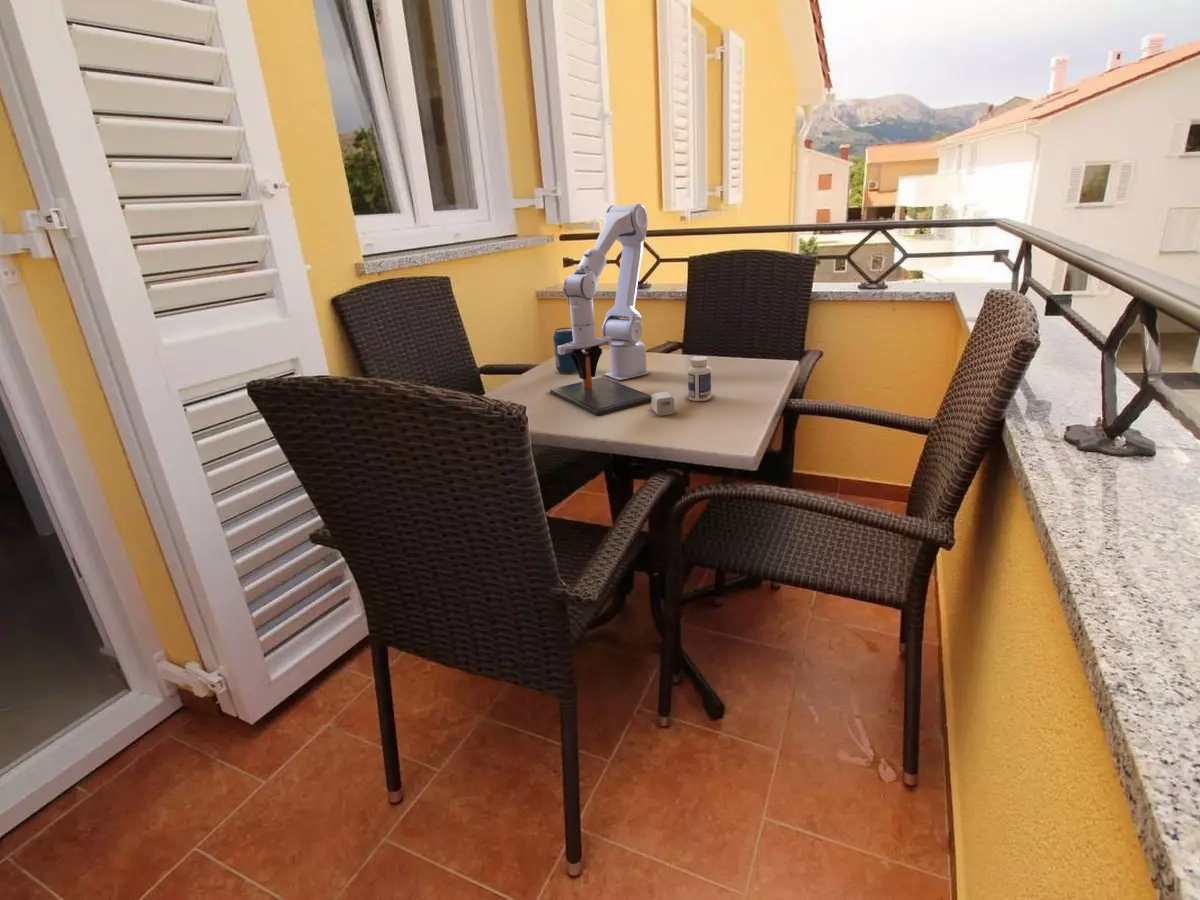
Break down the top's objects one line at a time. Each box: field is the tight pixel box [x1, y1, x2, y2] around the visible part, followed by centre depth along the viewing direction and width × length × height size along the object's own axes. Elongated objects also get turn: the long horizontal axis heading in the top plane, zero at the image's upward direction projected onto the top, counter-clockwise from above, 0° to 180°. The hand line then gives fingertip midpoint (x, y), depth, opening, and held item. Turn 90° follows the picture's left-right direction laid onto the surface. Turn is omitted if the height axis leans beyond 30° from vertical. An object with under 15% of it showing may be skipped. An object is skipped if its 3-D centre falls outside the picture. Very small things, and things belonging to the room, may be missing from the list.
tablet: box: [549, 376, 652, 416], centre depth 156 cm, size 16×24×1 cm, turn 31°
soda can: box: [552, 327, 578, 374], centre depth 179 cm, size 7×7×12 cm
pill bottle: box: [687, 355, 712, 402], centre depth 147 cm, size 5×5×10 cm
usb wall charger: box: [651, 391, 675, 417], centre depth 142 cm, size 4×7×4 cm, turn 11°
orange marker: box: [582, 351, 593, 389], centre depth 159 cm, size 2×2×9 cm
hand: (587, 377), depth 159 cm, fingers closed on orange marker, 2 cm apart
